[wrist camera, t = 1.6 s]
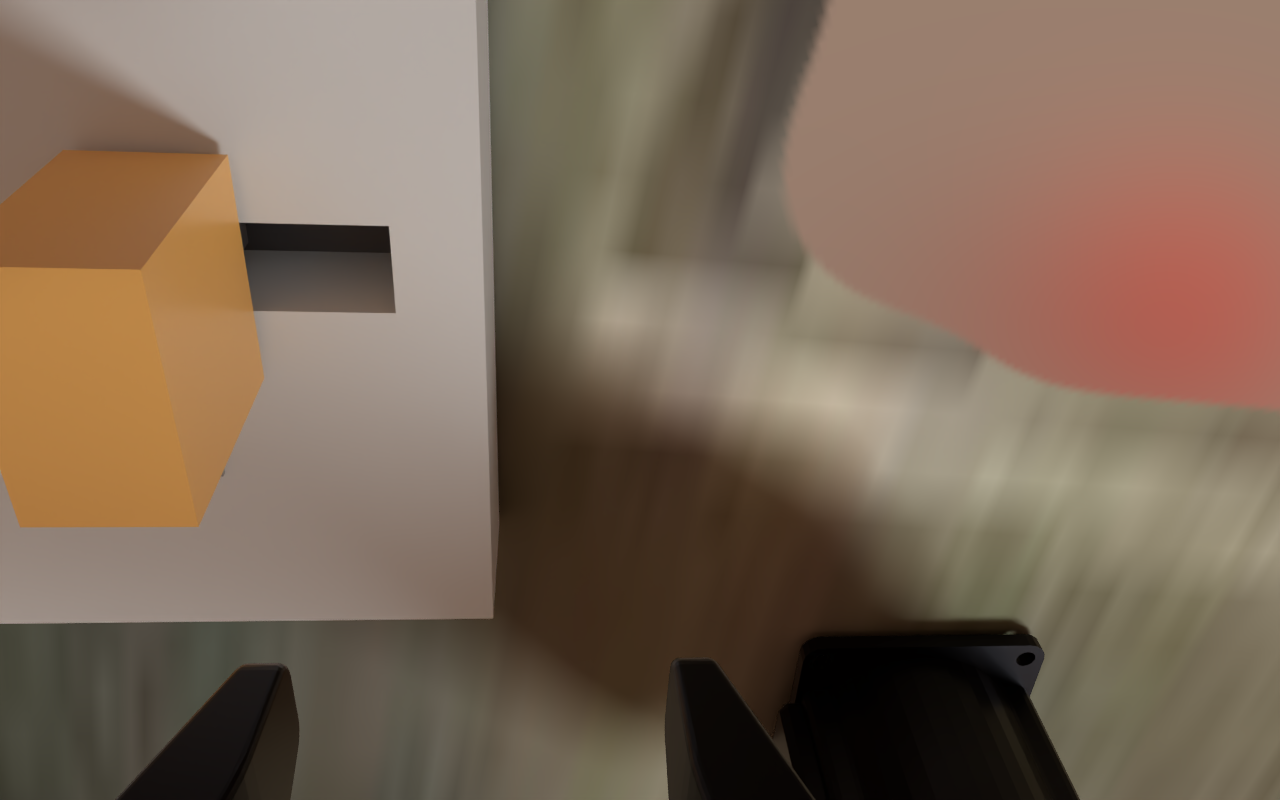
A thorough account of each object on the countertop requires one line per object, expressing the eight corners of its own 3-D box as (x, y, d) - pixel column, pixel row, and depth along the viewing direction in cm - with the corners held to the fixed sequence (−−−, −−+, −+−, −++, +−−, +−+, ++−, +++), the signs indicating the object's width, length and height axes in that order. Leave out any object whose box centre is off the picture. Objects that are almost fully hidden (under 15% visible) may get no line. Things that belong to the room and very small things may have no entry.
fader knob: (262, 108, 18) (140, 270, 12) (292, 315, 20) (198, 526, 15) (116, 103, 18) (-71, 266, 12) (162, 313, 20) (20, 527, 14)
